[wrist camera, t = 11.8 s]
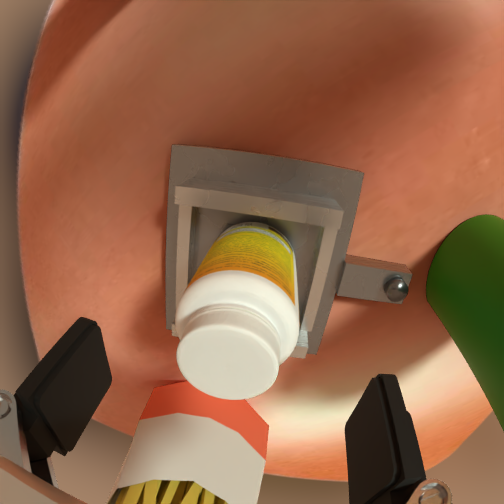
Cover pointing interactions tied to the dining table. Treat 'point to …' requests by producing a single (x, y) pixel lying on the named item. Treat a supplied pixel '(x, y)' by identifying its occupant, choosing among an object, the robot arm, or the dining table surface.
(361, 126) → the dining table surface
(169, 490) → the french fries container
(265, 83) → the dining table surface
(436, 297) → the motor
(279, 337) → the supplement bottle
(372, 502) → the robot arm
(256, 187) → the clip bracket
